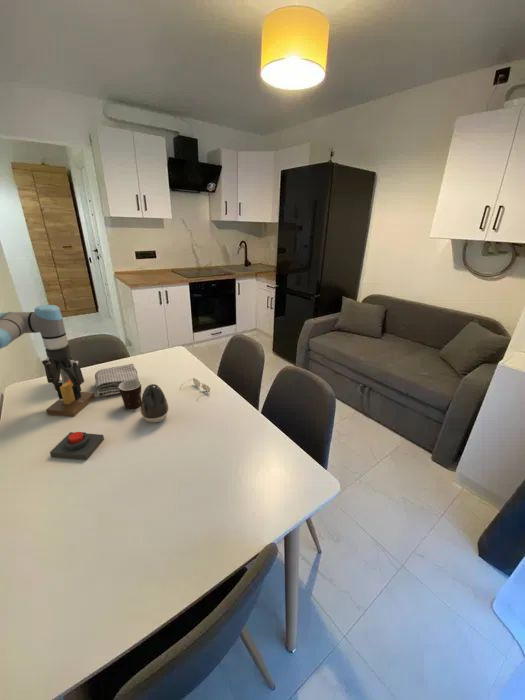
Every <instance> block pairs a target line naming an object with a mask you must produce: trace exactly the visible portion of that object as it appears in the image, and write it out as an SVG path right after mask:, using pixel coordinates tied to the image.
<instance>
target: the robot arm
mask: <svg viewBox="0 0 525 700" xmlns="http://www.w3.org/2000/svg"><path fill="white" fill-rule="evenodd" d="M33 310H34V311H8V312H0V350H2V349H3V348H5V347H7V346H9V345H10V344H11V343H12V342H13V341H15V340H16V339H19V338H20V337H22V335H24V334H37V333H40V336H41V339H42V343H43V347H44V348H45V349H44V350H45V353H46V356H47V358H44V359H43V360H42V361H41V363H42V365H43V367H44V372H45V377H46V380H47V383H48V384H52V385H53V386H54V387H53V388H54V390H55V392H57V397H58V400H59V399H62V394H61V390H60V387H61V386H62V385H63V381H62V379H61V374H60V371H61V369H63V370H64V372H66V373H67V375H68V377H69V378H70V380H71V382H72V383H73V386H72V389H73V393H74V397H75V400H78V399H79V398H81V393H80V392H82V387H81V385H82V384H83V383H85V379H84V376H83V372H82V369H81V366H80V364H81V361H80V360H78V359H77V360H74V359H73V358H72V356H71V353H72V352H71V348H70V345H69V340H68V337H67V332H66V328H65V324H64V318H63V315H62V312H61V309H60V307H59V306H57V305H56V304H45V305H44V304H43V305H38V306H36V307H35V308H34V309H33Z"/></svg>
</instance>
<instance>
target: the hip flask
mask: <svg viewBox="0 0 525 700" xmlns="http://www.w3.org/2000/svg"><path fill="white" fill-rule="evenodd" d="M60 379H61V382H62V384H65V383H66V382H67V381H68V380H70V378H69V377H68V375H67V373H66V372H64V370H63V369H61V371H60Z"/></svg>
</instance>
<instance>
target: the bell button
mask: <svg viewBox="0 0 525 700" xmlns="http://www.w3.org/2000/svg"><path fill="white" fill-rule="evenodd" d="M82 432H83V431H75V432H74V433H72V434H71V435H70V436H69V441H70V443H71V444H75V443H79V442H80V441H82V440H83V438H84V437H83V434H82Z"/></svg>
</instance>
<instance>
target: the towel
mask: <svg viewBox="0 0 525 700" xmlns="http://www.w3.org/2000/svg"><path fill="white" fill-rule="evenodd" d="M94 379H95V390H96V393H97V397H98V398H103V397H109V396H113V395H118V394H121V393H120V390H119V387H118V386H119V384H120V383H122V382H124V381H127V380H139V381H140V382H141V380H140V378H139V376H138V370H137V368H136V367H135V365H134V364H133V363H129V364H124V365H119V366H112V367H106V368H101V369H98V370H97V371H96V372H95V374H94ZM142 385H143V384H142V383H141V386H142Z"/></svg>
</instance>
